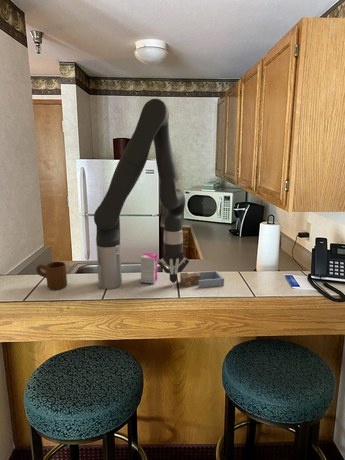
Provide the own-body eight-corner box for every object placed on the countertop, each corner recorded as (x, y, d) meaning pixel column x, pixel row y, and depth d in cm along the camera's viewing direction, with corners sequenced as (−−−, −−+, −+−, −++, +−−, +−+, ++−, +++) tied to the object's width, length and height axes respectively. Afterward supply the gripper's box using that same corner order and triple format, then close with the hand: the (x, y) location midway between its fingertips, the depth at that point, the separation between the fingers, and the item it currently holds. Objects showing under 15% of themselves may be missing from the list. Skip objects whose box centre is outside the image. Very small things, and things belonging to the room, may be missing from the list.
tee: (183, 287, 132) (183, 278, 131) (180, 281, 138) (180, 273, 136) (201, 285, 134) (201, 276, 133) (197, 280, 139) (197, 271, 138)
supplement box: (154, 284, 135) (154, 258, 132) (140, 283, 136) (139, 257, 133) (157, 279, 140) (157, 253, 137) (144, 278, 141) (143, 252, 139)
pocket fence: (199, 287, 132) (199, 280, 131) (193, 279, 140) (193, 272, 140) (223, 285, 134) (224, 278, 133) (216, 277, 142) (216, 270, 142)
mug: (33, 289, 130) (30, 267, 128) (42, 281, 138) (40, 260, 135) (62, 291, 129) (60, 268, 127) (70, 283, 136) (68, 261, 134)
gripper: (158, 244, 124) (158, 287, 129) (192, 242, 127) (191, 284, 131) (155, 239, 132) (155, 279, 136) (187, 237, 134) (186, 277, 139)
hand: (173, 281), depth 134 cm, fingers closed
